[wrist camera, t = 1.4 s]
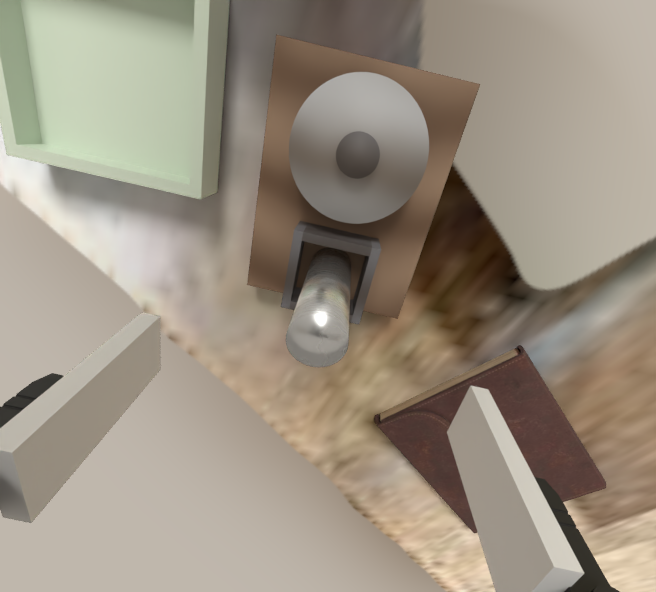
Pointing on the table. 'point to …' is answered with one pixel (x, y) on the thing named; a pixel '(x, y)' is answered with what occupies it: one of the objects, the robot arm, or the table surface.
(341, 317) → the pin
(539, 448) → the notebook
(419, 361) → the table surface
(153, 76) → the tray
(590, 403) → the table surface
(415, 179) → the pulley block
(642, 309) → the table surface
